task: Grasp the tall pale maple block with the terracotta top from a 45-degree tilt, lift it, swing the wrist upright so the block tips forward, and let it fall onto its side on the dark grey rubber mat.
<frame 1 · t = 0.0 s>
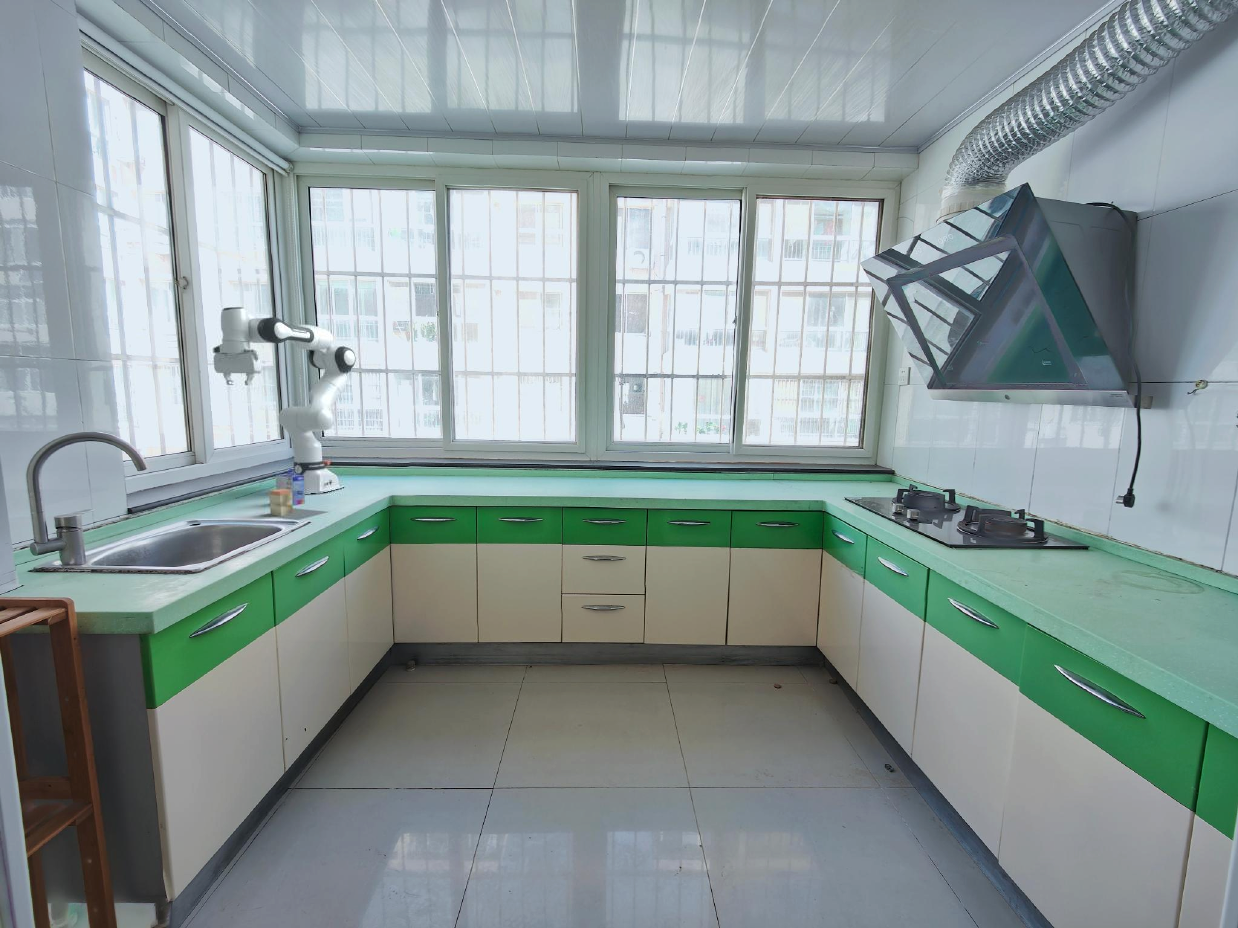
hand: (239, 385, 210), 48 cm above the worktop, tool pointing down, fingers open, 8 cm apart
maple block: (281, 513, 200), resting on rubber mat
ink cartridge box: (291, 504, 219), on the worktop
rubber mat: (295, 514, 201), on the worktop
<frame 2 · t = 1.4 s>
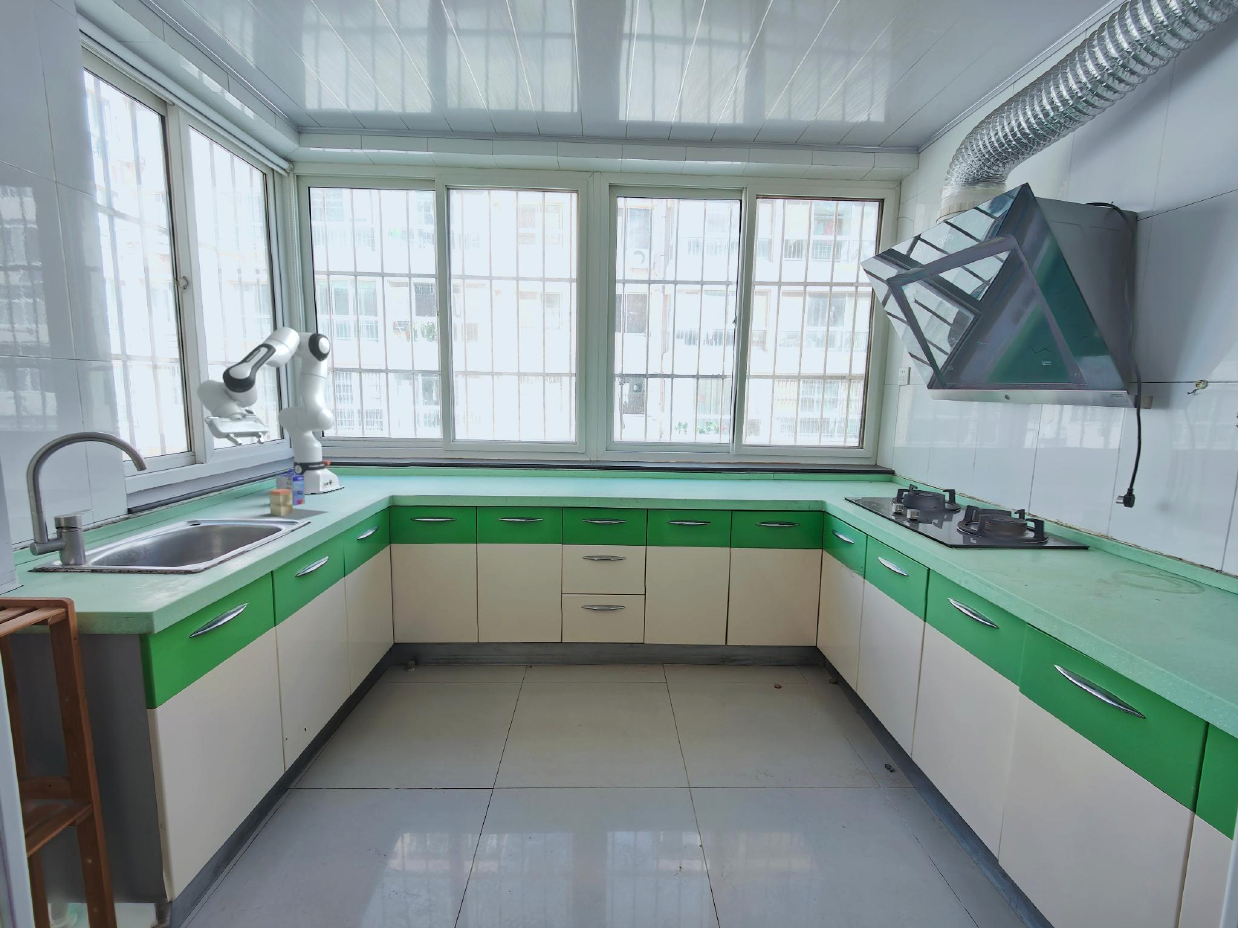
hand: (251, 443, 200), 26 cm above the worktop, tool tilted 45°, fingers open, 8 cm apart
nothing on the worktop moved.
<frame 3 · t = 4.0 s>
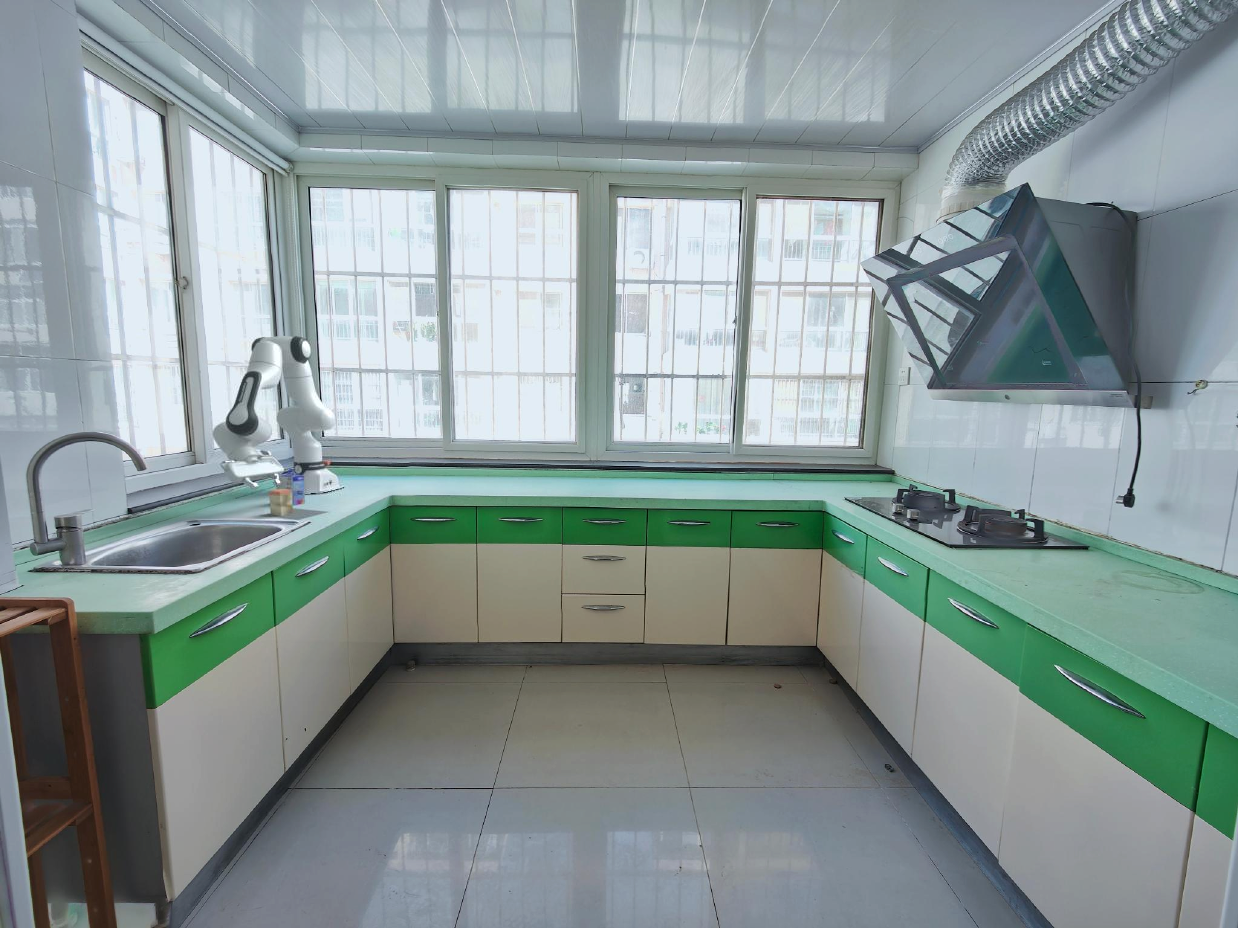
hand: (267, 486, 200), 11 cm above the worktop, tool tilted 45°, fingers open, 8 cm apart
nothing on the worktop moved.
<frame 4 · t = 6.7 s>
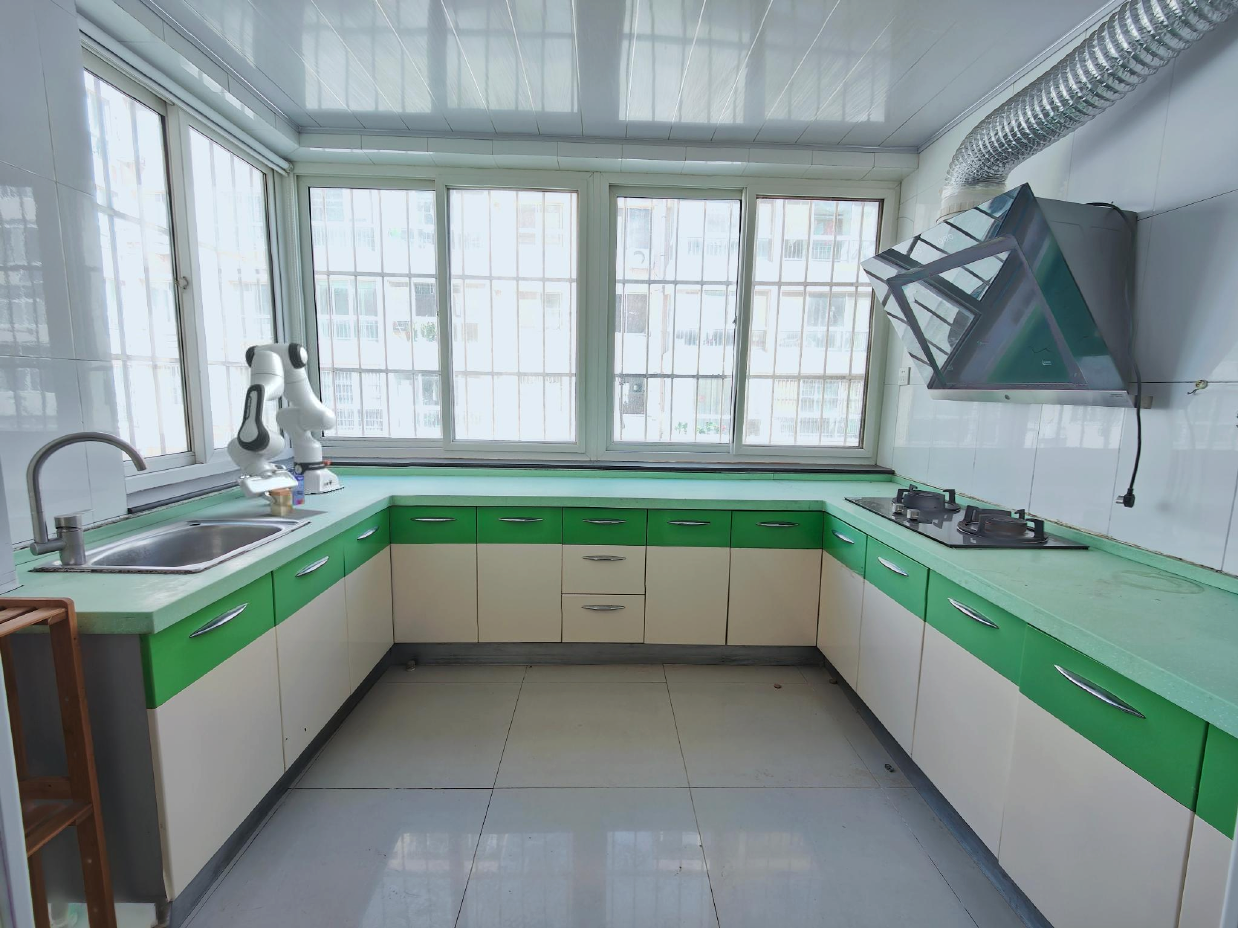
hand: (282, 501, 199), 5 cm above the worktop, tool tilted 45°, fingers closed on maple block, 5 cm apart
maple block: (281, 513, 200), resting on rubber mat, touching gripper
everything else where it was.
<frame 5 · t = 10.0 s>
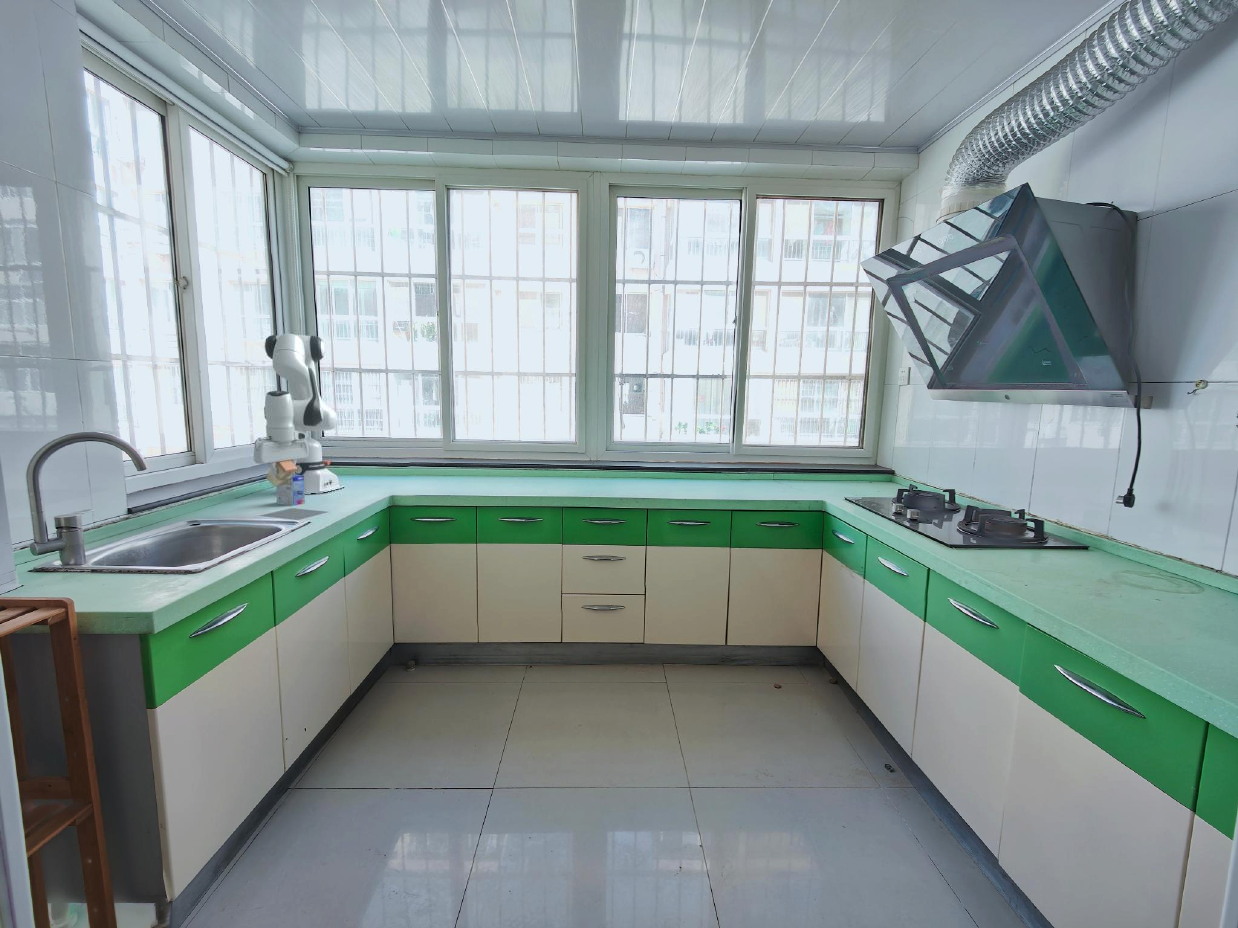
hand: (283, 473, 198), 16 cm above the worktop, tool pointing down, fingers closed on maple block, 5 cm apart
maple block: (275, 480, 199), point 13 cm above the worktop, tilted 45°, touching gripper
everything else where it was.
when the fingers open (7 cm above the worktop, at t = 13.6 s): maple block moves 2 cm and tips over, resting on rubber mat.
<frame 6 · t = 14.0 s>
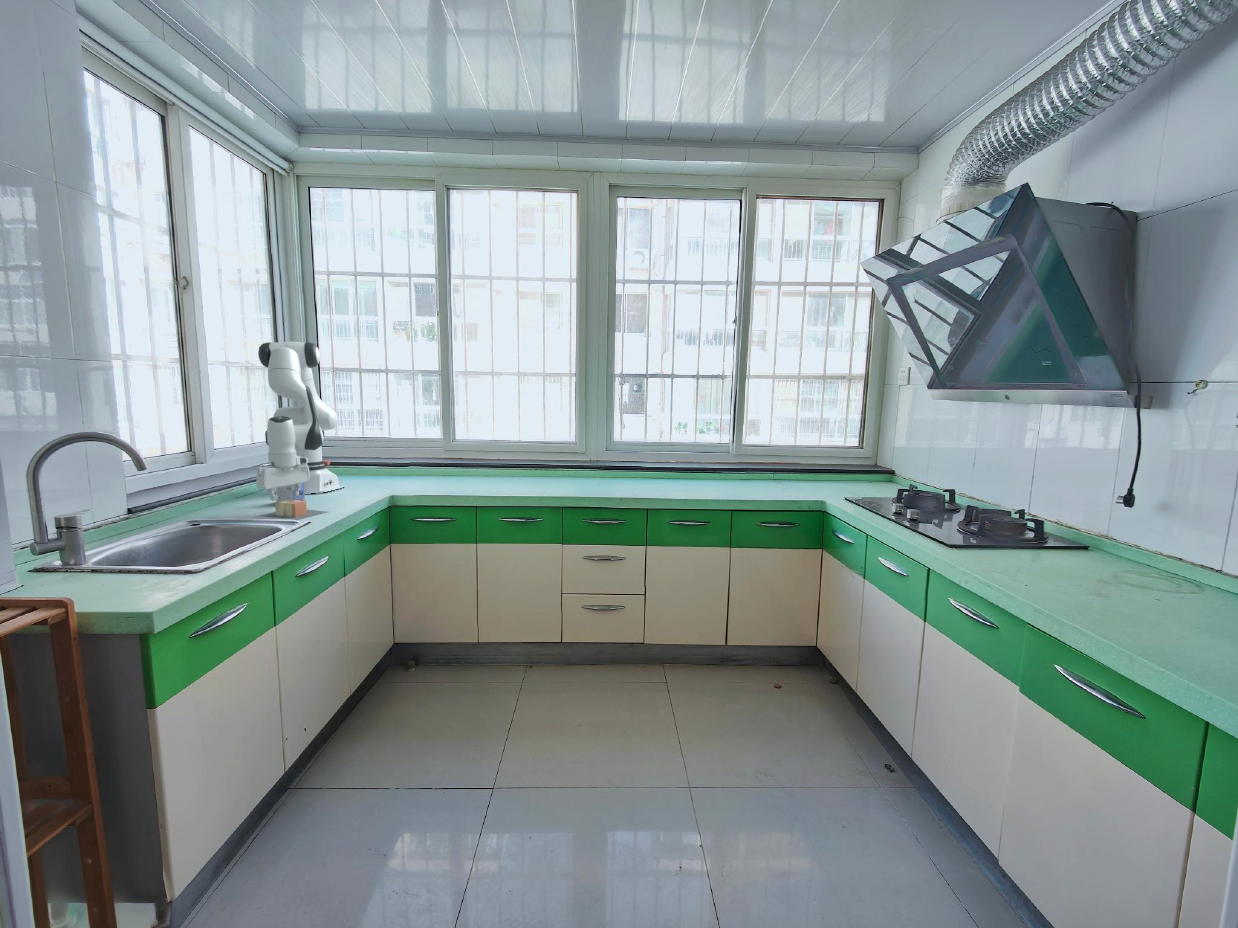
hand: (285, 497, 199), 7 cm above the worktop, tool pointing down, fingers open, 8 cm apart
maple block: (281, 507, 200), point 3 cm above the worktop, tilted 90°, touching rubber mat
everything else where it was.
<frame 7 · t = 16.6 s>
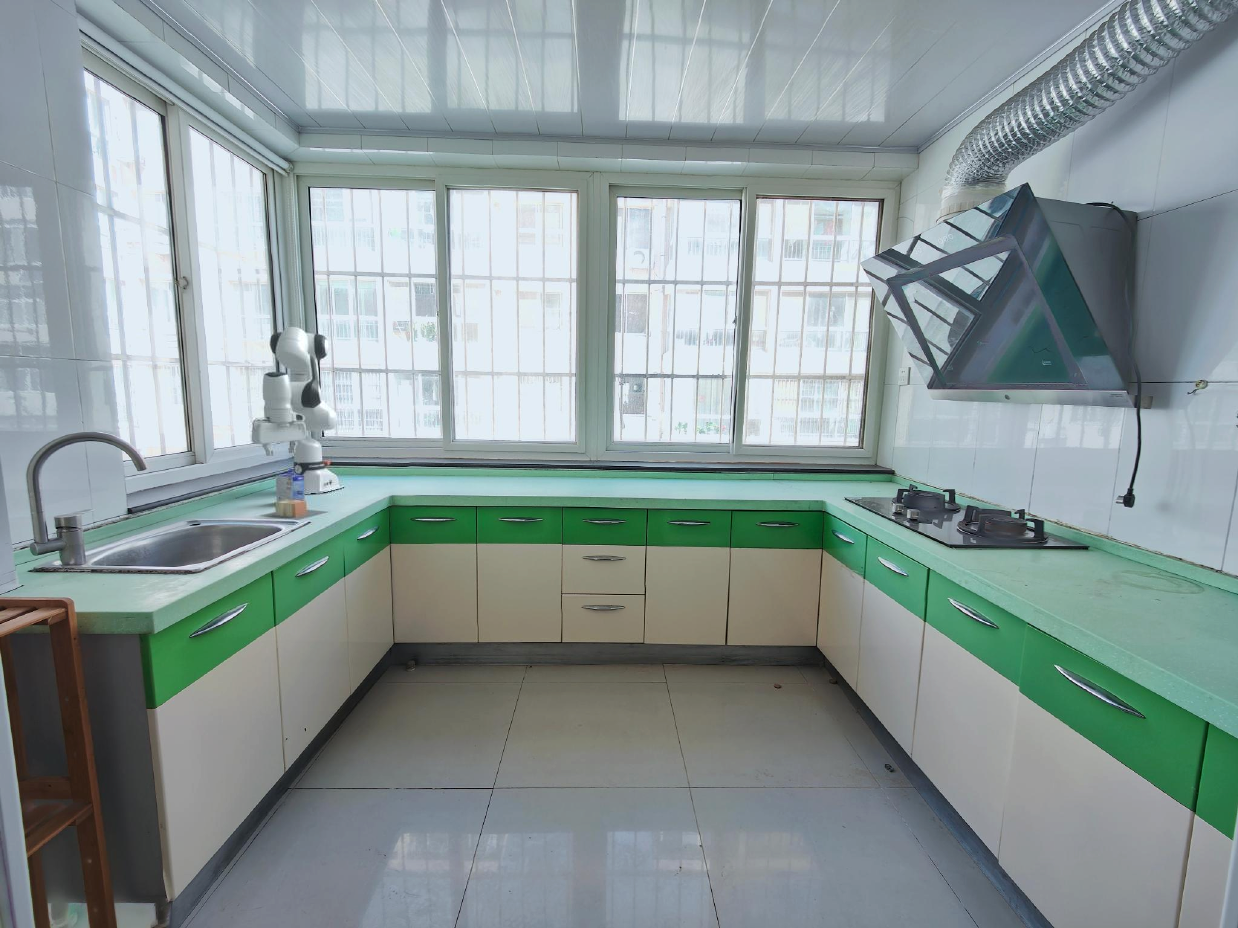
hand: (281, 454, 198), 23 cm above the worktop, tool pointing down, fingers open, 8 cm apart
nothing on the worktop moved.
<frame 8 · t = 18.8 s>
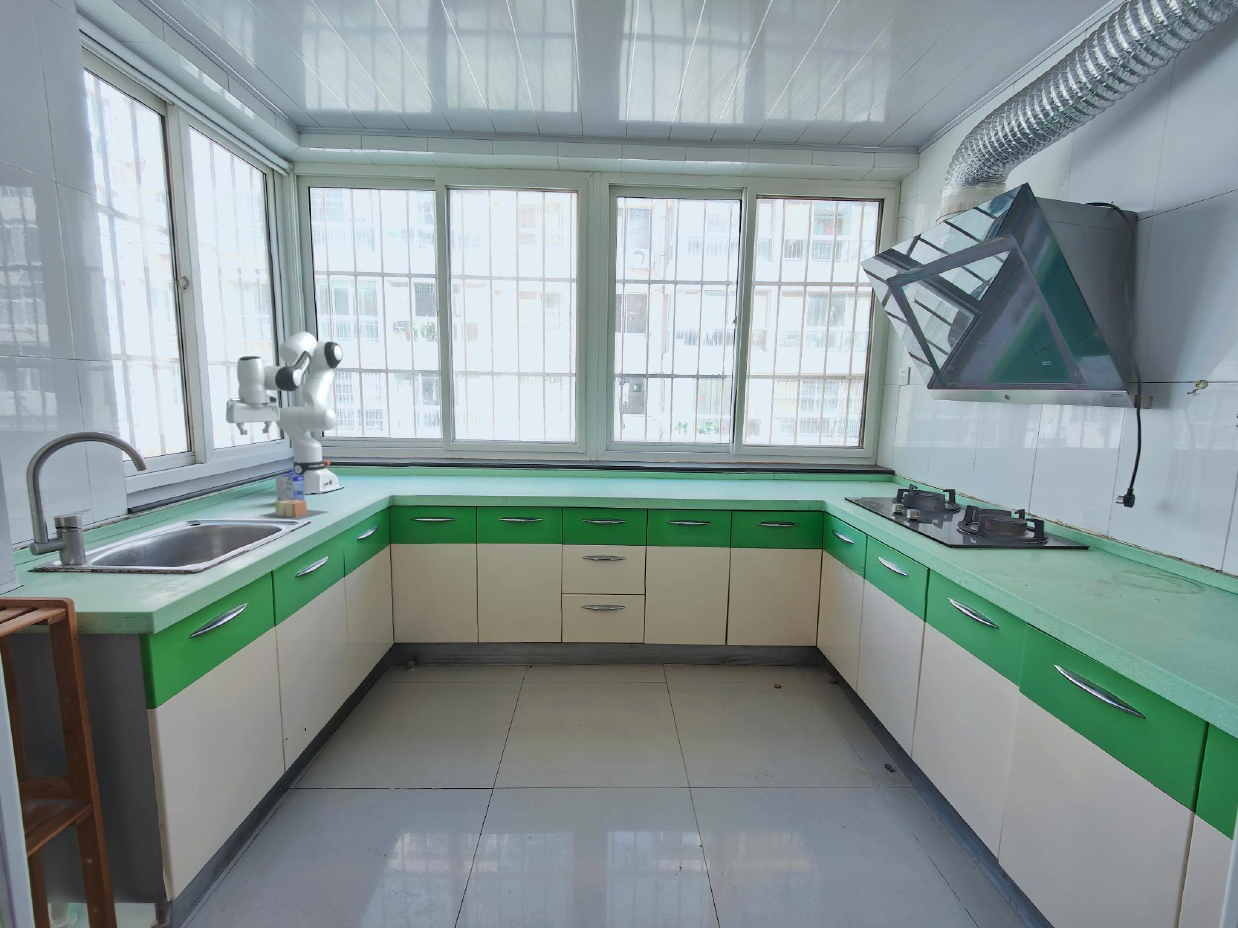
hand: (255, 434, 209), 29 cm above the worktop, tool pointing down, fingers open, 8 cm apart
nothing on the worktop moved.
at the end: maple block tilted 90°; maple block inside the target area on the rubber mat (4.5 cm from its centre), point 3.0 cm above the rubber mat's base; the gripper is holding nothing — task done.
